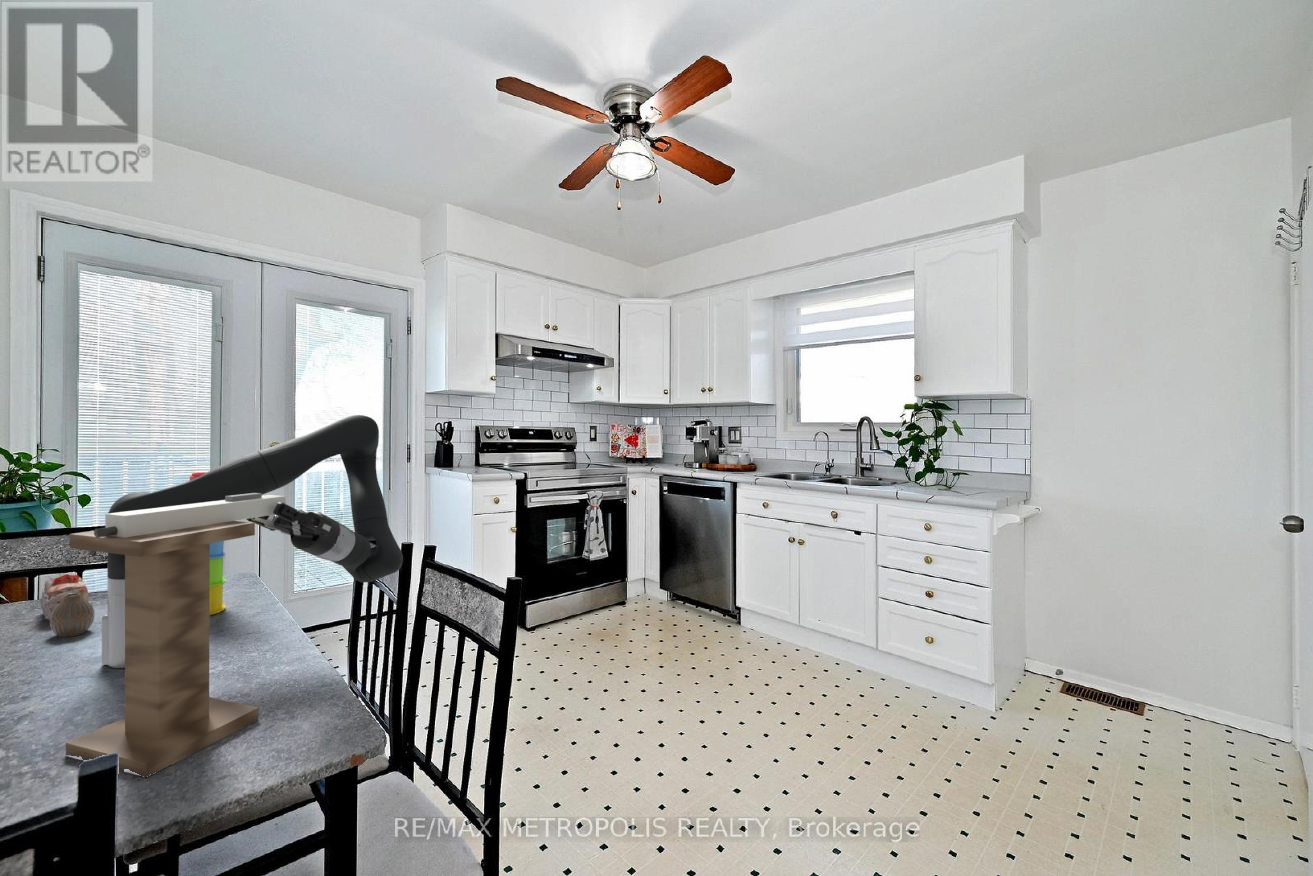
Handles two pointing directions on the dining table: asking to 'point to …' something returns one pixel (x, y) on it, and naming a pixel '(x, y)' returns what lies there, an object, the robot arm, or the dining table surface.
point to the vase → (72, 616)
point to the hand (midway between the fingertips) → (258, 506)
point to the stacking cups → (215, 571)
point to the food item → (60, 591)
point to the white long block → (188, 515)
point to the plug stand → (165, 650)
